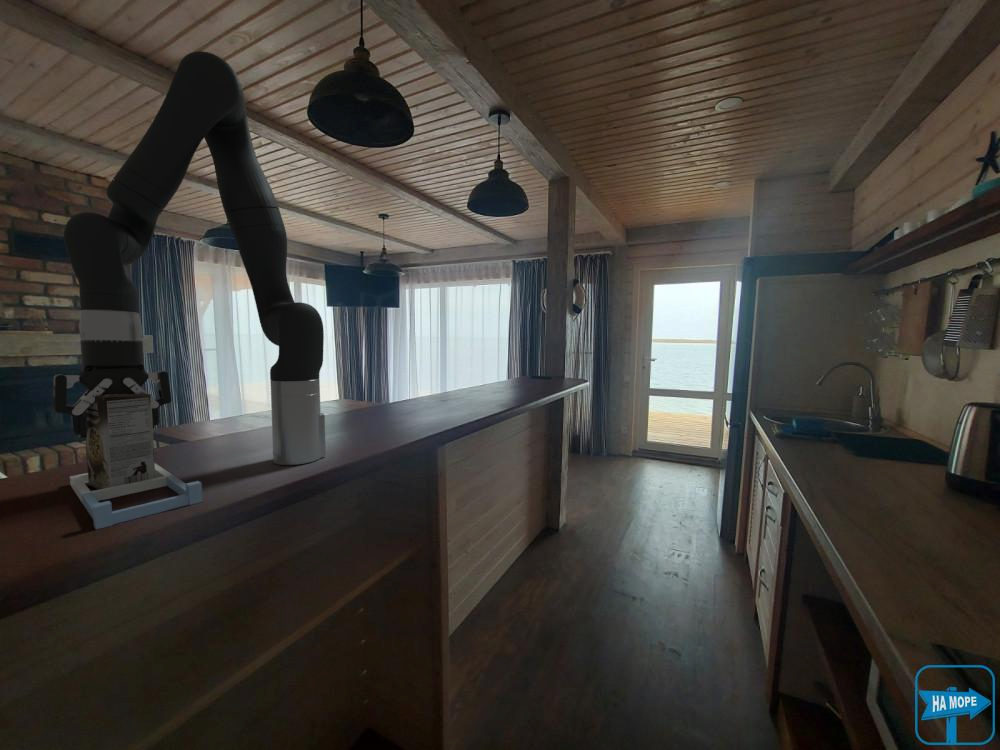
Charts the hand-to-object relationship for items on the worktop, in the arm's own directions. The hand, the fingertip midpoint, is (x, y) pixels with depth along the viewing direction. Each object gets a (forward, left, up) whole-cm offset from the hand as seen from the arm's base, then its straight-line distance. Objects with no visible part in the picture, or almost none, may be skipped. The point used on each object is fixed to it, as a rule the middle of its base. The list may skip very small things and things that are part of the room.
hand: (118, 432), depth 67 cm
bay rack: (0, +6, -9) cm, 11 cm away
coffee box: (0, 0, -10) cm, 10 cm away
